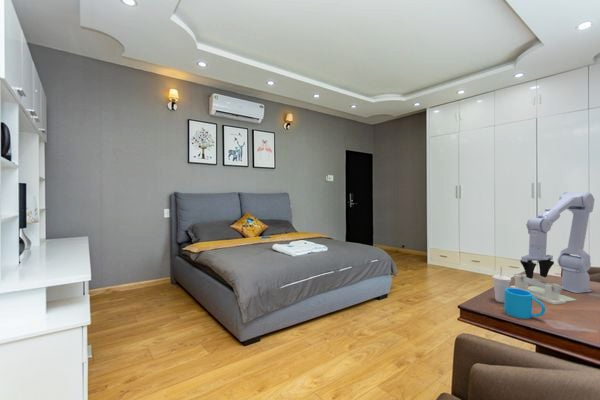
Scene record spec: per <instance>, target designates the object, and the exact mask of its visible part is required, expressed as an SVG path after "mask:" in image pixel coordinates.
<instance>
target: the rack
mask: <svg viewBox="0 0 600 400" xmlns="http://www.w3.org/2000/svg"><path fill="white" fill-rule="evenodd" d="M522 275H525V276H526V274H525V273H524V274H523V273H522ZM553 284H554V285H557V286H561V285H560V284H557V283H553ZM528 287H529V283H526V282H523V281H521V276H519V275H515V279H514V285H510V286H509V288H516V289H522V290H526V291H528V292H530V293H532V294H533V296H532V297H534V298H536V299H538V300H539V301H543V302H546V303H548V304H550V305H551V304H552V305H561V304H562V305H563V304H567V302H566V301H565V300H562V299H559V295H560V294H561V292H558V293H556V292H553V291H552V286H551V285H547V284H546V285H545V294H544V293H542V292H539V291H536V290H533V289H530V288H528Z"/></svg>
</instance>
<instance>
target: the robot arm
mask: <svg viewBox="0 0 600 400" xmlns="http://www.w3.org/2000/svg"><path fill="white" fill-rule="evenodd" d="M594 205H595V198H594V196H593V194H592V193H590V192H567V191H565V192H563V193H562V194H560V195H559V200H558V201H557V202H556V203H555V204H554V205H553V206H552V207H546V208H544V210H543V211H541V213H538V215H536V217H530V218H529V219H528V220H527V222H526V224H525V225H526V228H527V233H528V235H529V243H528V245H529V246H528V247H529V248H528V254H527V255H523V256H521V259H520V264H521V265H522V267H523V269H524V272H525V273H524V274H525V275H526V277H527V278H531V279H532V278H534V271H535V268H536V266H537V263H536V261H537V262H538V266H539V276H540V277H543V278H547V277H548V274H549V271H550V269H551V268H552V266H553V265H554V264H555V261H553V259H554V258H553V257H554V255H551V254H547V245H548V244H547V239H548V232H549V231H551V229H552V226H553V225H554V223H555V222H556V221H558V220H559V219H560V218H561V213H563V212H565V211H566V210H568V211H569V212H571V213H572V220H571V227H570V231H569V238H568V242H567V243H568V244H567V247H566V248H564V249H562V250H560V254H559V255H558V258H557V264H558V266H559V267H560V269H562V273H561V274H562V275H561V285H560V286H561V290H565V291H568V292H572V293H574V294H582V293H591V292H592V290H591V289H590V279H591V278H590V275H589V273H588V271H589V270H591V269H590V268H591V265H592V263H591V255H590V254H588V253H587V252H586V251H585V250H584V247H585V241H586V236H587V229H588V223H589V217H590V213H592V212H594V211H593V210H594Z"/></svg>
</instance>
